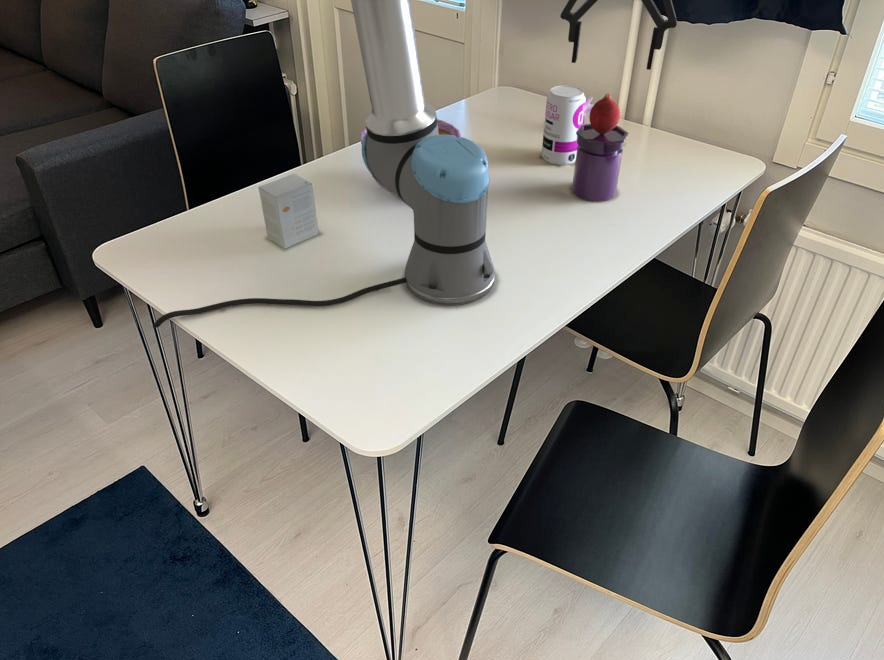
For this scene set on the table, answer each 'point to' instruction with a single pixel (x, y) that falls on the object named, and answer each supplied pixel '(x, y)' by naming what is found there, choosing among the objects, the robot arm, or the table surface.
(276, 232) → the small box
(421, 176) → the robot arm
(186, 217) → the table surface
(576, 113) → the supplement can
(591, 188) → the jar
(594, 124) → the onion
